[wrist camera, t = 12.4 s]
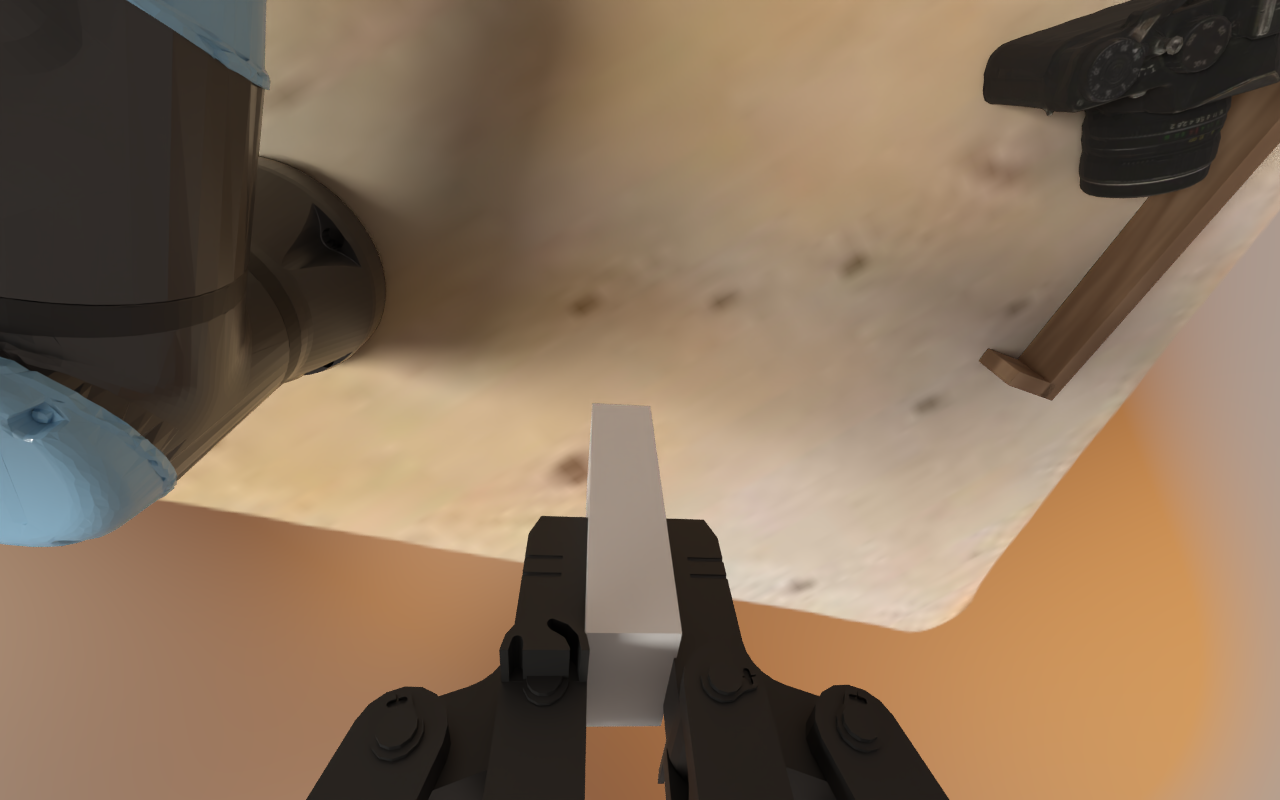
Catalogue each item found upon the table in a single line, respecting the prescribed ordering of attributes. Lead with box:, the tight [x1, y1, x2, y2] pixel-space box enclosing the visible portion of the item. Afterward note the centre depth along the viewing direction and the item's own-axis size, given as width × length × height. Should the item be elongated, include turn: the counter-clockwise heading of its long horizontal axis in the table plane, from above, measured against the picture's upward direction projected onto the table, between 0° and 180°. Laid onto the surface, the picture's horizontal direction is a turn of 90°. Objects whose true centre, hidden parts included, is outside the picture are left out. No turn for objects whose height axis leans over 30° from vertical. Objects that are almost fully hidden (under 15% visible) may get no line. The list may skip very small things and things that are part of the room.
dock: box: [979, 81, 1280, 401], centre depth 37 cm, size 4×26×4 cm, turn 160°
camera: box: [983, 0, 1280, 198], centre depth 30 cm, size 14×11×10 cm
